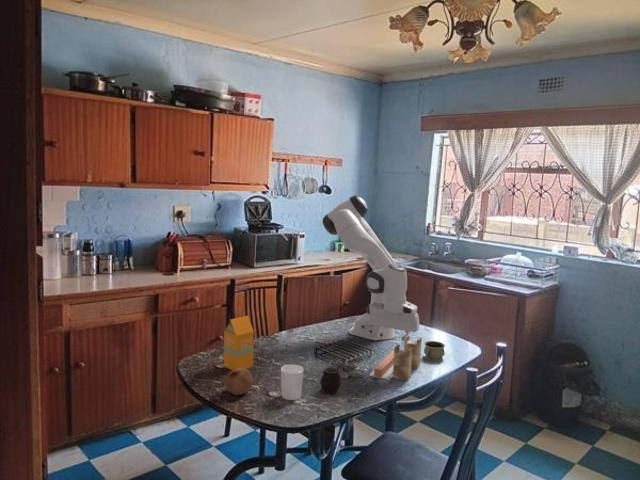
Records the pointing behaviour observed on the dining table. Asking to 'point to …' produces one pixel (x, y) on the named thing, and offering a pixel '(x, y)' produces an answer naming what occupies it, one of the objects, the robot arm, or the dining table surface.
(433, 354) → the vessel
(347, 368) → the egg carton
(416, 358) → the post far
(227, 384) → the onion
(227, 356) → the orange juice
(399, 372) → the post near
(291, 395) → the white cup
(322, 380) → the mate gourd
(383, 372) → the rail
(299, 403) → the dining table surface
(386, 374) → the mat
